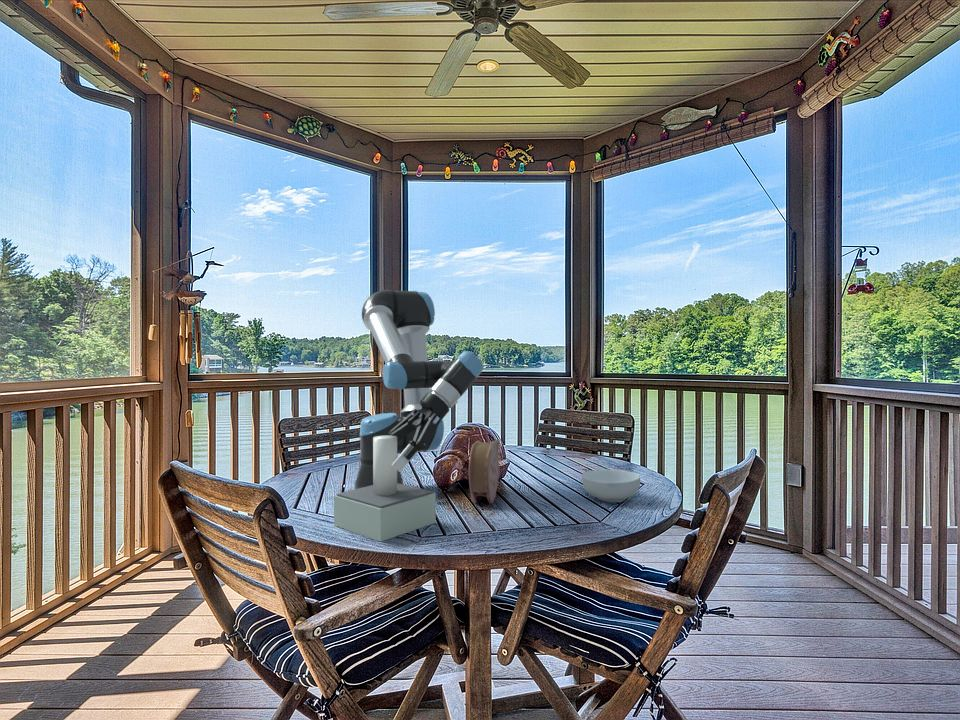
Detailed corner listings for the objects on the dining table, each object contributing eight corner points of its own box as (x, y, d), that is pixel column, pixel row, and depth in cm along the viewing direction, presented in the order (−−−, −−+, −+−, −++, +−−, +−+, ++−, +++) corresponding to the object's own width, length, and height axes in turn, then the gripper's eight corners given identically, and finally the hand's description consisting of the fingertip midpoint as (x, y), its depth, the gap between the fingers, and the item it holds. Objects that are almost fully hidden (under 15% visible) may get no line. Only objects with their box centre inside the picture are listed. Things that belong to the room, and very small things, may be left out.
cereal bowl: (593, 488, 174) (593, 466, 174) (646, 496, 165) (646, 472, 165) (573, 501, 159) (573, 477, 159) (630, 510, 151) (631, 484, 151)
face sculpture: (492, 508, 153) (492, 448, 153) (468, 507, 154) (467, 447, 154) (500, 489, 173) (500, 437, 172) (479, 489, 174) (479, 436, 174)
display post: (368, 492, 139) (368, 437, 138) (386, 488, 143) (386, 434, 143) (383, 497, 135) (383, 440, 135) (402, 492, 140) (402, 437, 139)
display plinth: (334, 525, 138) (333, 493, 138) (389, 509, 152) (389, 480, 152) (380, 541, 127) (380, 507, 126) (435, 522, 140) (435, 491, 140)
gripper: (470, 414, 136) (415, 482, 129) (429, 405, 158) (380, 463, 151) (451, 394, 133) (393, 462, 127) (412, 388, 155) (360, 446, 148)
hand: (386, 463), depth 139 cm, fingers open, 13 cm apart
